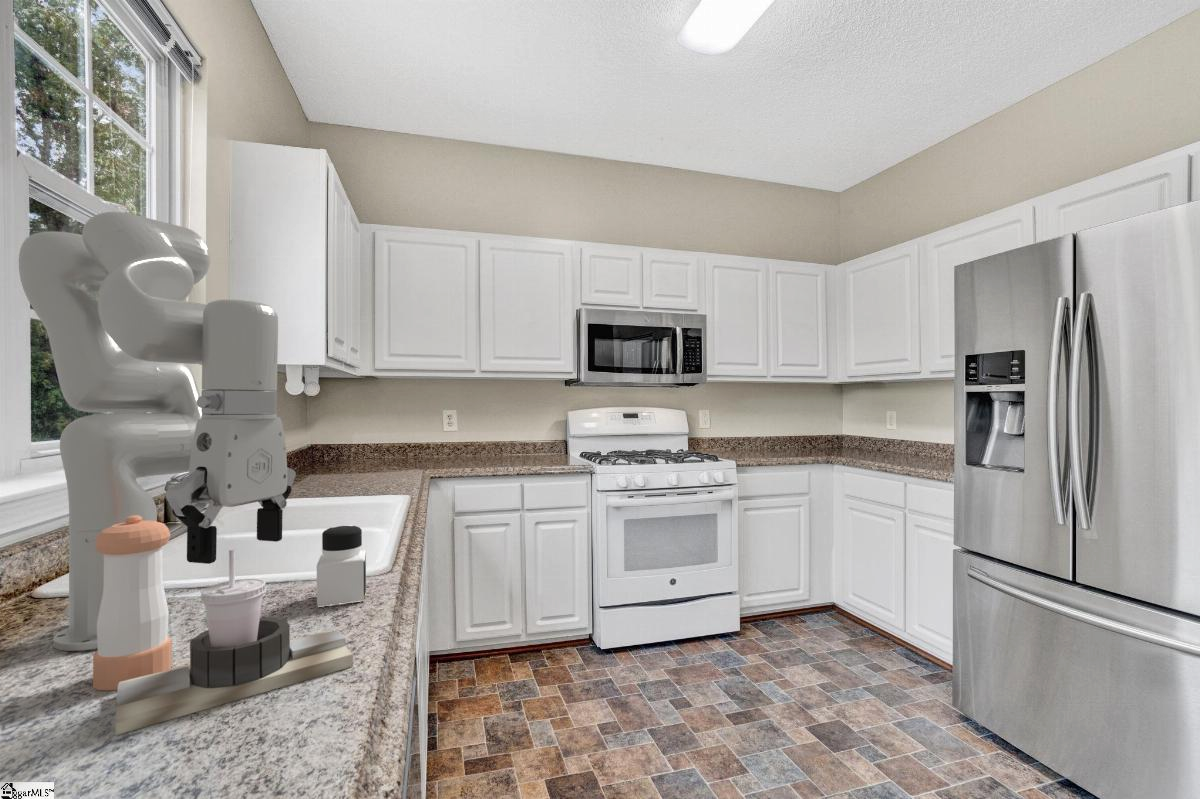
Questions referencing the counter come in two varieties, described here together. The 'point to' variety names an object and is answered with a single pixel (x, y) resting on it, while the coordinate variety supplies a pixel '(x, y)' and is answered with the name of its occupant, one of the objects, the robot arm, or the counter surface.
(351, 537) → the medicine bottle
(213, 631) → the smoothie
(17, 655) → the counter surface
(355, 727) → the counter surface
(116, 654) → the pepper shaker
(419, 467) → the counter surface
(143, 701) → the socket rail
